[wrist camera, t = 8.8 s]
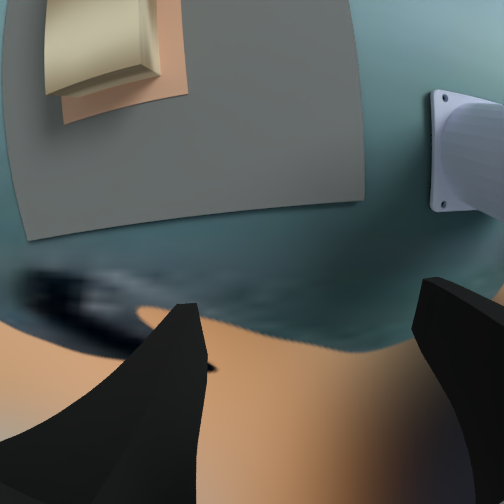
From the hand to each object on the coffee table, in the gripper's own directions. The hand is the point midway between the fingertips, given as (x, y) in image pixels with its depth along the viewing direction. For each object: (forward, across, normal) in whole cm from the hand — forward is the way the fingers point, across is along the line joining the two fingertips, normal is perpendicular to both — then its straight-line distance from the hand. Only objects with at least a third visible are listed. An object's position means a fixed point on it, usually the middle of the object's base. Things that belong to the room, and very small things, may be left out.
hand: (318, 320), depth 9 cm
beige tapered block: (+9, +8, -15) cm, 19 cm away
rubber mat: (+9, +6, -12) cm, 16 cm away
